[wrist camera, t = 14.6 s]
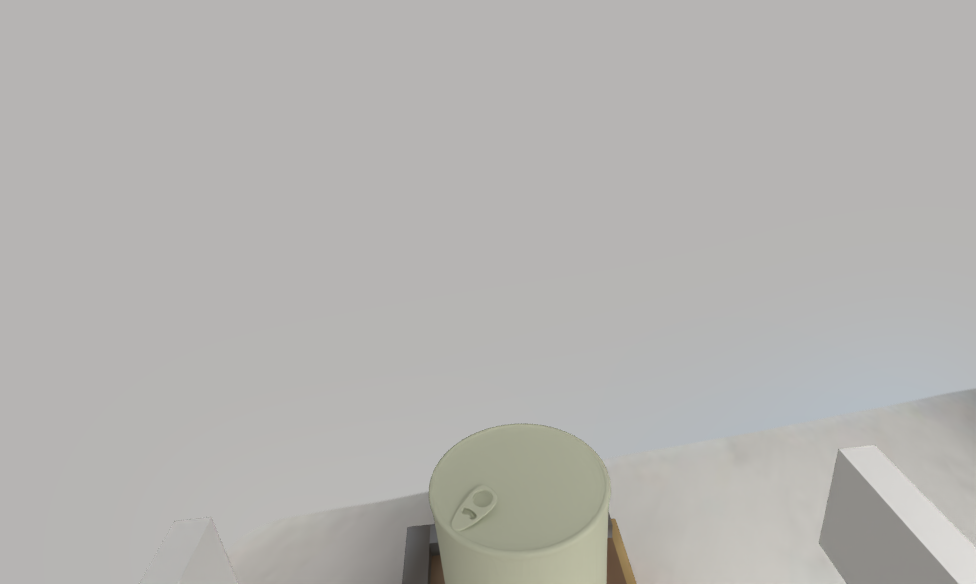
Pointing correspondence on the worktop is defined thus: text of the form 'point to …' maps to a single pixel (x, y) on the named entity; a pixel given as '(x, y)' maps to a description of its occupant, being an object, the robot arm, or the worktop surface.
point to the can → (521, 508)
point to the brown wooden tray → (427, 573)
